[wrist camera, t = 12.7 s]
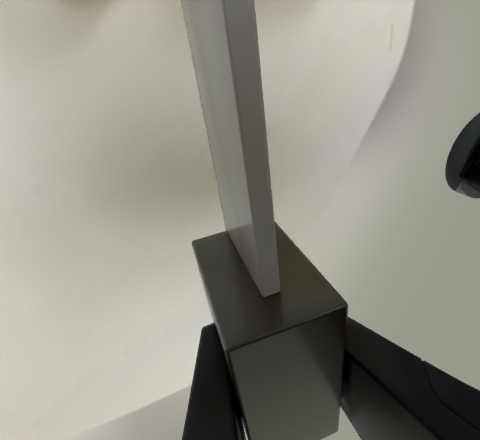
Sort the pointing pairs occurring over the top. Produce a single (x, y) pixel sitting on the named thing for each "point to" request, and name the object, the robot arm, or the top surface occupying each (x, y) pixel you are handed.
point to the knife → (260, 249)
